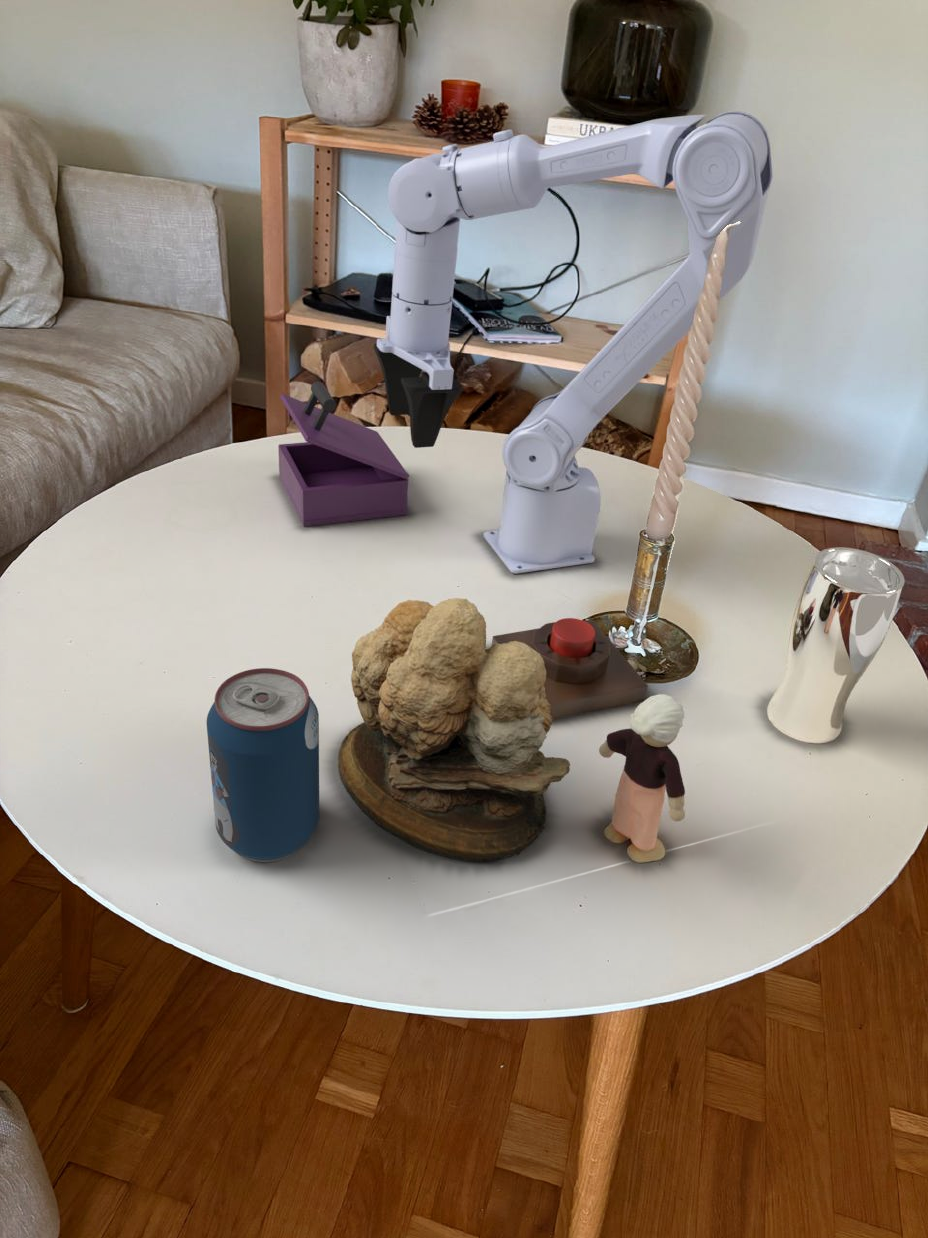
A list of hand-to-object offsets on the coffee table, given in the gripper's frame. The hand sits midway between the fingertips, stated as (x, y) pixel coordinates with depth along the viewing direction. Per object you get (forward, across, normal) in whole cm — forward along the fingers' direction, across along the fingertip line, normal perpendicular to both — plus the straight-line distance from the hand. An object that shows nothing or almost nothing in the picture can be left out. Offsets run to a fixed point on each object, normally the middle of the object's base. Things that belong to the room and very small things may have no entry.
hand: (411, 429), depth 98 cm
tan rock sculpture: (+10, +40, -10) cm, 42 cm away
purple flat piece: (+4, -6, -5) cm, 9 cm away
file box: (+11, -6, -5) cm, 13 cm away
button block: (+10, +30, +5) cm, 32 cm away
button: (+6, +30, +5) cm, 31 cm away
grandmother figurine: (+10, +48, +1) cm, 49 cm away
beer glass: (+9, +41, +22) cm, 47 cm away
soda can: (+10, +40, -23) cm, 47 cm away
